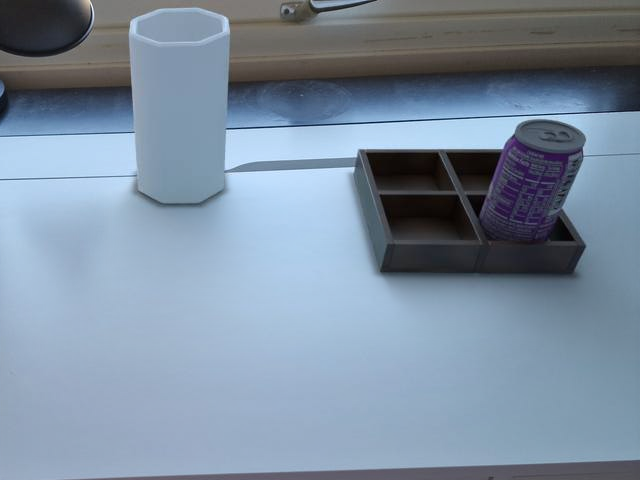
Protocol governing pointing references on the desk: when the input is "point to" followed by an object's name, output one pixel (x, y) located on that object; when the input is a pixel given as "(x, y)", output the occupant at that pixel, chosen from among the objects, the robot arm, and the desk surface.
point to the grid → (447, 215)
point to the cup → (180, 102)
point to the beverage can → (532, 181)
